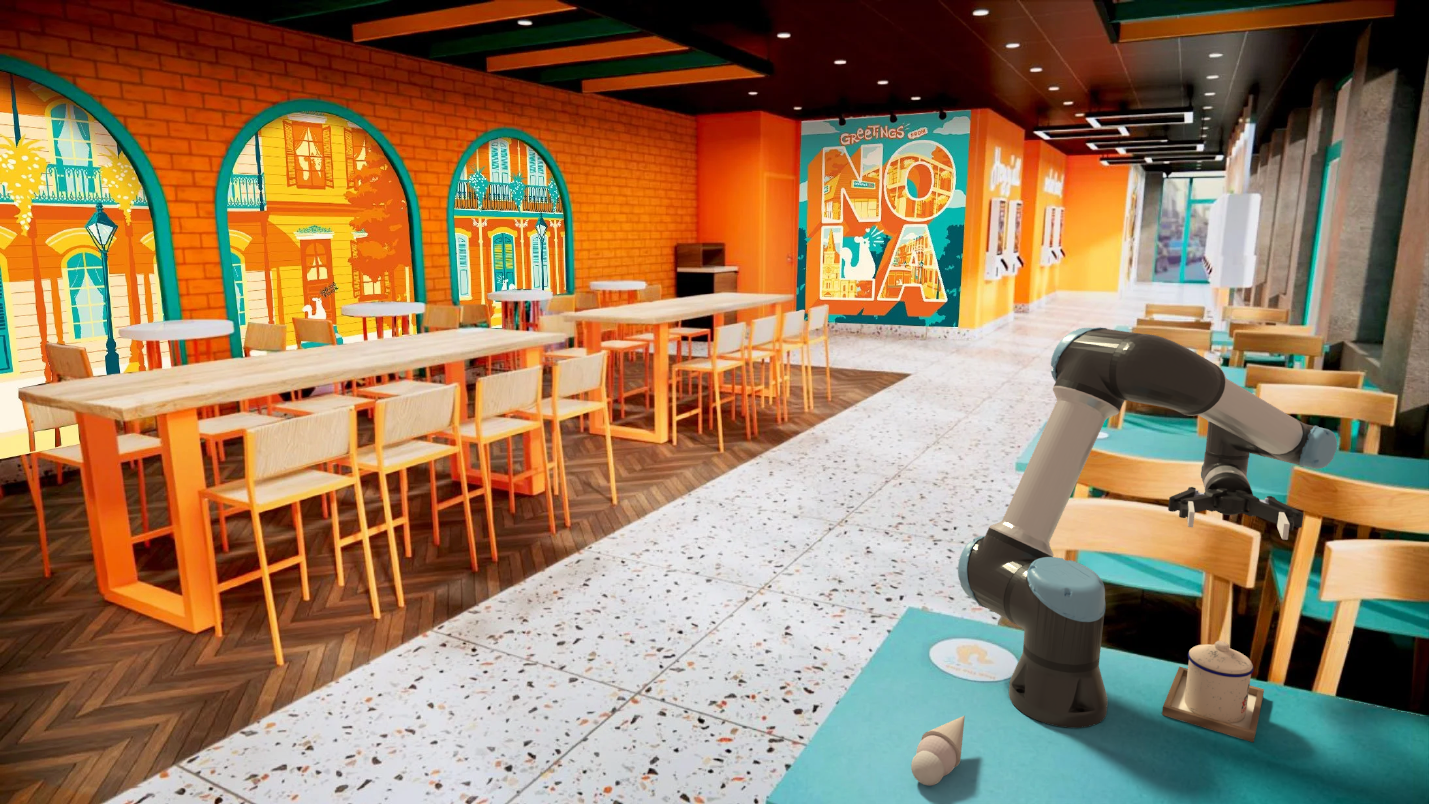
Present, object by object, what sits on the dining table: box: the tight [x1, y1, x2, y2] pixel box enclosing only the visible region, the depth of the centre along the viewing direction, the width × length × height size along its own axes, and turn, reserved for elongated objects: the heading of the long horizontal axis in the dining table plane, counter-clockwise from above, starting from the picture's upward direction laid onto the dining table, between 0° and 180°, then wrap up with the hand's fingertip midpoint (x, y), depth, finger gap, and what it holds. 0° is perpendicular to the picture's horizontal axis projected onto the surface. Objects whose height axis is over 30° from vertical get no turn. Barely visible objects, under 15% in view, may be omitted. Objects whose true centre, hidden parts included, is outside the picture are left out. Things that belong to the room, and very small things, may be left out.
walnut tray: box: [1161, 666, 1265, 743], centre depth 138 cm, size 13×16×2 cm
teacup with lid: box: [1184, 640, 1254, 723], centre depth 137 cm, size 12×9×12 cm
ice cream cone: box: [910, 715, 966, 786], centre depth 123 cm, size 6×6×15 cm
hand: (1237, 525), depth 141 cm, fingers open, 13 cm apart
